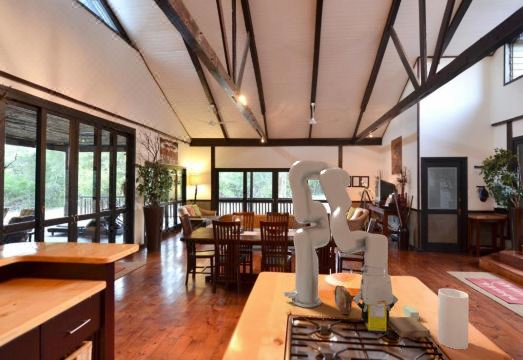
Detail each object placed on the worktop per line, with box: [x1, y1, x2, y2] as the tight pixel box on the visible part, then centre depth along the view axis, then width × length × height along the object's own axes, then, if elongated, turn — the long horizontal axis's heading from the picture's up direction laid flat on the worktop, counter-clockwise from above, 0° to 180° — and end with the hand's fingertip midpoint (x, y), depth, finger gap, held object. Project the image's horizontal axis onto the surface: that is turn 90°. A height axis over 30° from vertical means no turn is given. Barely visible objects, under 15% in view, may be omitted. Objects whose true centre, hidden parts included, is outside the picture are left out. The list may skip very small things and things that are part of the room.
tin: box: [334, 285, 353, 315], centre depth 121 cm, size 15×3×8 cm, turn 2°
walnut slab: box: [386, 316, 431, 338], centre depth 105 cm, size 10×10×2 cm
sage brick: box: [402, 305, 419, 321], centre depth 116 cm, size 6×3×3 cm, turn 1°
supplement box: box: [364, 301, 387, 334], centre depth 106 cm, size 6×6×11 cm
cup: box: [437, 287, 470, 350], centre depth 97 cm, size 8×8×16 cm
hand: (375, 320), depth 106 cm, fingers closed on supplement box, 6 cm apart
